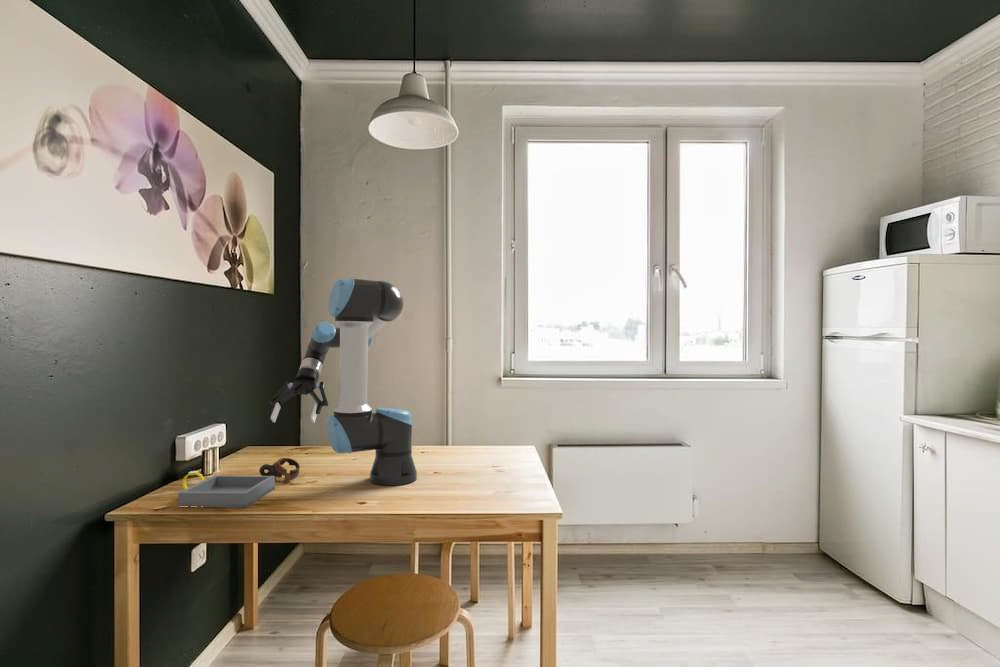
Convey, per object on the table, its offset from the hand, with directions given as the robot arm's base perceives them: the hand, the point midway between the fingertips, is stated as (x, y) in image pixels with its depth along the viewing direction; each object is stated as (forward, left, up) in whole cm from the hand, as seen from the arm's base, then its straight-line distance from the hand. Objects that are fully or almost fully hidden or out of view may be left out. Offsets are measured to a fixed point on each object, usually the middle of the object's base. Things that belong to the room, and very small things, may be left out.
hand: (292, 420), depth 184 cm
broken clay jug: (0, +10, -18) cm, 21 cm away
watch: (+21, +22, -18) cm, 36 cm away
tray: (+7, +29, -18) cm, 34 cm away
